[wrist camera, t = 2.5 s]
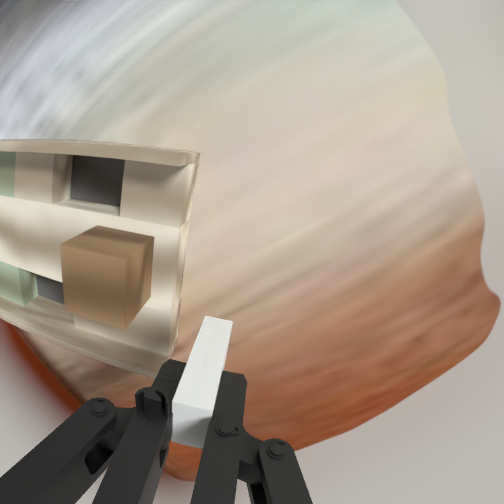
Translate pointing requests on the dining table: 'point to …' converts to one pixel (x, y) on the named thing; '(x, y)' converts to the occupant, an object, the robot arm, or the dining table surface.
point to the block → (107, 274)
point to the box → (82, 219)
